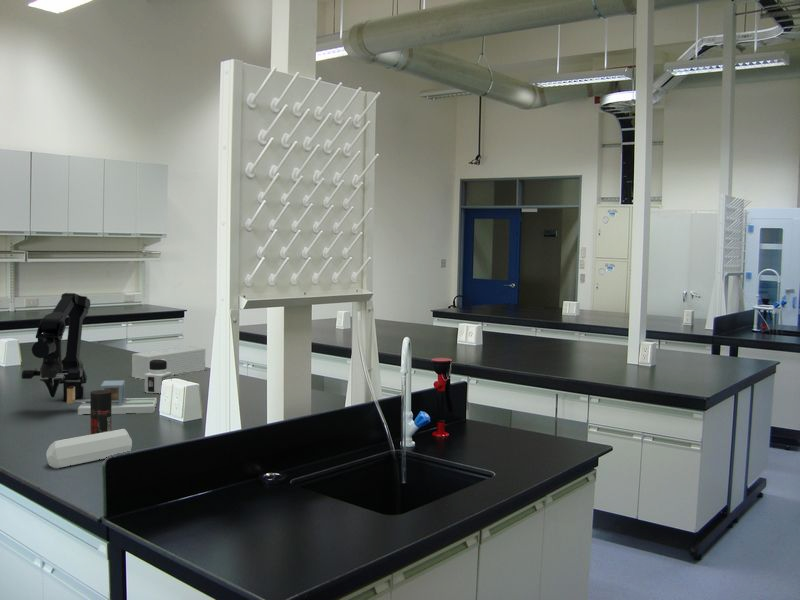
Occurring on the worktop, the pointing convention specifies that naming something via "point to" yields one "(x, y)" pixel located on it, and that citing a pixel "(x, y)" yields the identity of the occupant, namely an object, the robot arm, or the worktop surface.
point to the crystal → (88, 448)
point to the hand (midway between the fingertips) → (52, 397)
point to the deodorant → (100, 411)
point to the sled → (72, 399)
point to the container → (156, 376)
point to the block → (114, 393)
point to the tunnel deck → (123, 407)
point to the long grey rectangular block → (170, 360)
